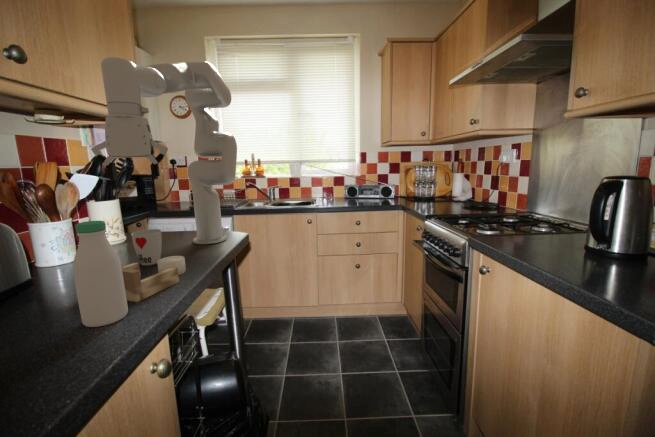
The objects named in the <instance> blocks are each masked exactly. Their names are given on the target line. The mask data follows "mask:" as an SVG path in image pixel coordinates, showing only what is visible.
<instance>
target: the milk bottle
mask: <svg viewBox="0 0 655 437" xmlns="http://www.w3.org/2000/svg"><path fill="white" fill-rule="evenodd" d="M74 226H75V232H76V236H77V237H78V245H77V249H76V251H75V255H74V258H73V260H72V262H73V263H72V272H73V280H74V287H75V291H76V292H75V293H76V297H77V302H78V308H79V312H80V313H79V314H80V318H81V319H80V320H81V322H82V324H83V325H84V326H85V327H88V328H98V327H103V326H104V327H105V326H108V325H112V324H114V323H116V322H119V321H120V320H122V319H123V318H125V317H126V316H127V315H128V312H129V307H128V300H127V299H126V292H125V286H124V280H123V274H122V268H121V267H122V264H121V263H122V262H121V260H120V257H119V254H118V252H117V250H115V248H114V247H113V246H112V245H111V243H110V242H109V240H108V238H107V234H106V232H107V225H106V221H104V220H88V221H81V222H78V223H76V224H75V225H74Z"/></svg>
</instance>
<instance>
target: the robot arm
mask: <svg viewBox="0 0 655 437" xmlns="http://www.w3.org/2000/svg"><path fill="white" fill-rule="evenodd" d="M100 69H101V74H102V80H103V81H102V82H103V89H104V95H105V101H106V107H107V108H106V109H107V114H108V116H106V117H105V122H104V123H105V124H104V138H105V139H104V140H105V141H103V142H101V143H98V144H97V145H95V146H93V147H91V151H92V153H93V154H94V156H95V157H96V158H97V159H98V160H99V161H100V162H102V163H103V165H104V166H105V168H106V173H107V177H108V178H109V179H110V181H111V182H115V181H118V180H119V176H118V170H117V166H116V164H115V162H116V161H117V160H118V159H119V158H122V159H123V158H126V159H127V158H147V159H148V160H149V162H151V164H150V173H151V179H152V180H159V177H160V175H161V173H160V165H159V164H160V163H161V162H162V161H163V160H164V159H165V157H166V154H167V152H168V150H169V148H168V147H167V146H165V145H163V144H161V143H158V142H156V141H154V138H153V134H152V131H151V130H152V129H151V126H150V124H149V123H150V122H149V120H148V118H146V117H145V115H146V114H150V113H149V112H150V111H149V108H148V107H143V105H142V98H156V97H161V96H162V95H165V94H174V93H175V94H176V93H180V92H183V91H184V97H185V101H186V103H187V105H188V107H189V108H190V111H191V113H192V115H193V117H194V120H195V130H194V141H193V142H194V144H193V146H194V147H193V148H194V153H195V155H196V156H198V158H202V160H201V159H199V160H194V161H191V162H190V163H189V165H188V166H187V177H188V179H189V183H190V187H191V191H192V192H191V193H192V197H193V199H192V200H193V208H194V219H195V228H196V236H195V237H194V238H193V243H194V244H197V245H211V244H218V243H222V242H225V241H226V240H227V238H228V236H227V235H226V234H224V233H225V232H229V230H230V228H229V227H228V226H224V227H223V224H222V214H221V213H222V212H221V201H220V196H219V193H218V191H217V190H216V189H215V186H227V185H232V184H233V183H234V182H235V180H236V175H237V161H238V160H237V158H238V157H237V156H238V145H237V144H238V143H237V141H236V138H235V137H234V135H233V134H232V133H229V132H219V130H220V129H219V128H220V123H219V120H218V119H217V117H216V116H215V115H214V114H213V113H212V112H211V111H210V110H209V109H223V108H227V107H229V106H230V105H231V103H232V93H231V91H230V88H229V86H228V85H227V83H226V82H225V80H224V78H223V77H222V75H221V73H220V72H219V71H218V70H217V68H216V67H215V66H214V65H213V64H212V63H211V62H208V61H206V60H205V61H204V60H203V61H202V60H200V61H184V62H183V61H181V62H166V63H156V64H151V65H141V64H136V63H134V62H133V61H131V60H129V59H125V58H122V57H105V58H103V59H102V60H101V63H100ZM155 148H156V149H158V150H159V152H158V155H157V156H155V153H156V151H155V150H156V149H155ZM105 149H106V153H107V155H108V156H105V155H104V154H103V152H102V151H103V150H105Z"/></svg>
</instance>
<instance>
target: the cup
mask: <svg viewBox="0 0 655 437" xmlns="http://www.w3.org/2000/svg"><path fill="white" fill-rule="evenodd" d="M130 235H131V240H132V244H133V249H134V251H135V254H136V256H137V259H138V261H139V264H140V265H141V266H152V265H156V264H157V261H158V260H159V259H161V255H162V249H163V248H162V246H163V245H162V244H163V241H162V229H157V228H156V229H155V228H151V229H150V228H149V229H142V230H137V231H133V232H131V234H130Z"/></svg>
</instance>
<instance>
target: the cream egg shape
mask: <svg viewBox="0 0 655 437" xmlns="http://www.w3.org/2000/svg"><path fill="white" fill-rule="evenodd" d="M156 264H157V269H158V273H160V272H162V271H164V270H167V269H169V268H172V267H177V268H178V276H180V275H182V274H184V273H186V271H187V266H186V258H185V256H183V255H170V256H165V257H162V258H160V259H159V260H158V261H157V263H156Z"/></svg>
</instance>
